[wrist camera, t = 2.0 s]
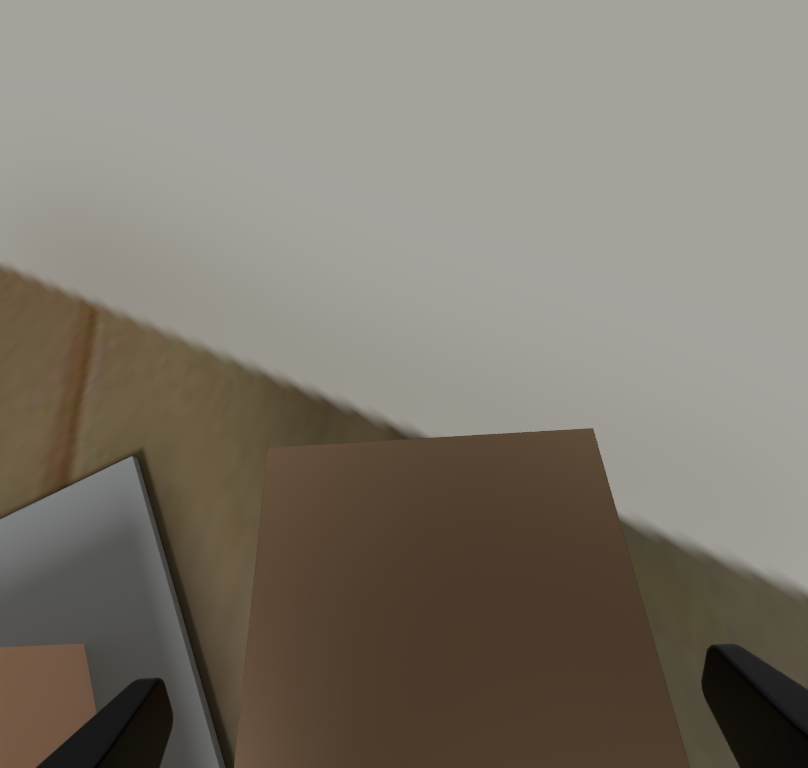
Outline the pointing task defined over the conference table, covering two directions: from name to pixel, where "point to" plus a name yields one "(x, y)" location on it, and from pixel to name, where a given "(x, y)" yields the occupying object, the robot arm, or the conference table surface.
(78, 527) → the mat
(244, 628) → the conference table surface
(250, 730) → the square wooden post
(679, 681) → the conference table surface
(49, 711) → the peach square bin
